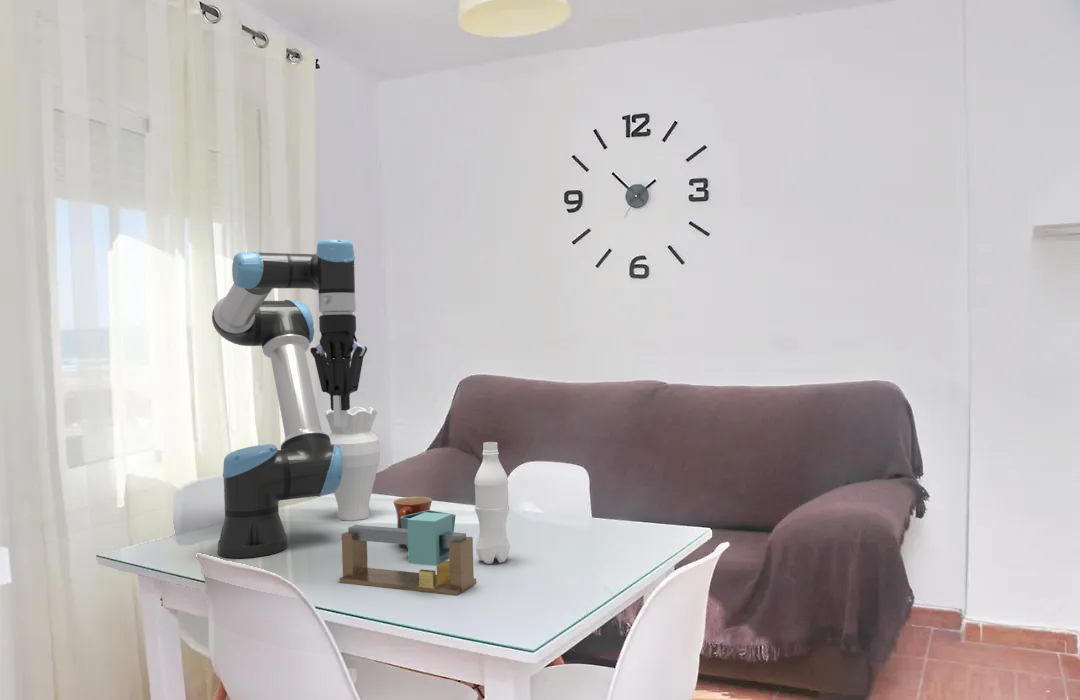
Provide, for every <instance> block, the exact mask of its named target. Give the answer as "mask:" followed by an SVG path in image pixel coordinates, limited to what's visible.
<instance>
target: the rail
mask: <svg viewBox="0 0 1080 700" xmlns="http://www.w3.org/2000/svg"><path fill="white" fill-rule="evenodd" d="M473 538H474V537H472V536H467V533H466V532H455V531H454V532H446V533H444V534H442V535H440V536H439V547H442V548H449V559H448V560H446V561H444V562H442V563H440V564H439V565H437V566H436V570H432V569H422V568H421V569H420V570H418V572H413V571H404V570H395V569H394V570H393V569H392V570H391V569H385V568H374V567H373V568H372V567H368V566H369V565H368V542H372V543H384V544H395V545H396V544H397V545H400V544H406V545H408V529H403V528H397V527H386V526H378V525H377V526H376V525H375V526H374V525H373V526H372V525H362V524H361V525H360V524H354V525H352V526H348V529H347V531H345V532H343V533H341V555H342V556H341V557H342V576H341V577H339V579H338V580H339V581H338V582H339V583H342V584H350V585H359V586H370V587H378V588H379V587H380V588H388V589H396V590H406V591H416V592H423V593H435V594H441V595H442V594H443V595H450V596H458V595H460V594H461V593H464V592H465V591H467V590H468V589H470V588H472V587H473V586H474V585H476V584H477V577H476V578H475V577H474V571H475V570H474V543H473Z"/></svg>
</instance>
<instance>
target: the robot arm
mask: <svg viewBox="0 0 1080 700" xmlns="http://www.w3.org/2000/svg"><path fill="white" fill-rule="evenodd" d="M316 245H317V246H316V253H287V252H286V253H284V252H283V253H282V252H260V251H259V252H257V251H249V252H248V251H247V252H237V253H236V254H235V255H234V257H233V260H232V266H231V267H232V268H231V269H232V272H231V273H232V281H233V284H232V286H231V288H229V291H228V293H227V294H226V296H224V297H222V298H221V299H219V300H218V301H217V303H216V304H215V306H214V308H213V310H212V313H211V321H212V324H213V327H214V329H215V331H216V332H217V333H218V335H220V336H221V337H222V338H223V339H225V340H226V341H228V342H230V343H232V344H235V345H239V346H245V347H261V348H262V353H263V355H264V356H265V357H267V358H269V359H270V362H271V367H272V371H273V372H272V373H273V377H274V382H275V383H274V384H275V389H276V394H277V401H278V404H279V410H280V416H281V419H282V420H281V421H282V427H283V432H284V436H285V439H284V440H283V442H282V443H281V444H280V449H279V448H277V446H276V444H272V443H271V444H270V443H269V444H267V443H266V444H261V445H260V444H257V445H253V446H248V447H243V448H239V449H236V450H234V451H231V452H229V453H228V454H227V455H225V457H224V459H223V467H222V468H223V471H222V478H223V496H224V498H223V499H224V501H223V502H224V522H223V524H222V527H221V528H222V529H221V532H220V537H219V540H218V542H217V554H218V555H219V556H220V557H223V558H231V559H242V558H243V559H245V558H247V559H248V558H257V557H263V556H268V555H269V556H270V555H271V554H272V555H273V554H276V553H280V552H282V551H284V550H286V549H287V548H288V545H289V543H288V542H289V541H288V540H289V539H288V535H287V533H286V531H285V528H284V525H283V523H282V519H281V516H280V511H279V501H287V500H288V501H289V500H295V499H297V500H298V499H303V498H304V499H305V498H311V497H321V496H324V495H325V496H326V495H330V494H334V492H335V491H336V490H337V489H338V487H339V485H340V482H341V478H342V471H343V456H342V450H341V448H340V446H339V445H336V444H333V445H331V442H330V437H329V435H330V434H328V433H326V432H324V431H322V427H321V422H320V421H321V420H320V417H319V413H318V407H317V403H316V399H315V394H314V393H315V392H314V389H313V384H312V379H311V374H310V369H309V364H308V358H307V355H306V352H307V351H308V349H309V348H310V344H311V343H312V342H313V341H314V338H315V327H314V318H313V316H312V315H313V314H312V312H311V310H310V308H309V307H308V305H307V303H304V302H303V301H301V300H291V299H285V300H266V298H267V297H268V295H269V294H270V292H271V291H272V290H273V289H307V290H308V289H309V290H310V289H311V290H314V291H317V290H318V292H317V293H318V312H319V313H321V314H322V315H321V314H320V315H319V317H318V320H319V321H318V322H319V323H318V325H319V326H318V327H319V332H320V334H321V335H320V339H319V344H317V345H316V346H315V347H311V348H310V351H309V352H310V354H311V355H312V357H313V359H314V361H315V366H316V371H317V375H318V380H319V384H320V388H321V391H322V392H323V393H327V394H328V395H329V397H330V409H331V410H334V427H342V426H347V425H348V421H347V410H350V409H351V404H350V403H351V402H350V401H351V399H350V396H351V394H352V393H355V392H357V391H358V389H359V385H360V384H359V383H360V379H361V372H362V367H363V361H364V357H365V355H366V353H367V351H368V348H367V346H362V345H361V344H360V343H358V339H357V337H356V331H357V316H356V315H355V314H354V313H355V312H356V311H357V310H356V308H357V307H356V290H355V289H356V288H355V287H356V283H355V281H356V279H355V278H356V277H355V273H356V272H355V259H356V257H355V251H354V244H353V243H352V242H351V241H350V240H348V239H347V240H346V239H323V240H322V239H321V240H320V241H318V242H317V244H316ZM278 449H279V450H278Z"/></svg>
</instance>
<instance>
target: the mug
mask: <svg viewBox="0 0 1080 700" xmlns="http://www.w3.org/2000/svg"><path fill="white" fill-rule="evenodd" d="M432 502H433V499H432V498H431V497H428V496H407V497H401V498H397V499H395V500H394V501H393V504H394V505H393V506H394V507H395V511H396V515H397V518H396V519H397V521H396V523H397V524H396V525H397V527H396V528H402V526H401V519H400V517H402V516H406V515H410V514H414V513H419V512H423V511H428V510H431V506H432ZM399 546H401V547H402V548H405V549H408V548H407V546H406V544H399Z"/></svg>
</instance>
